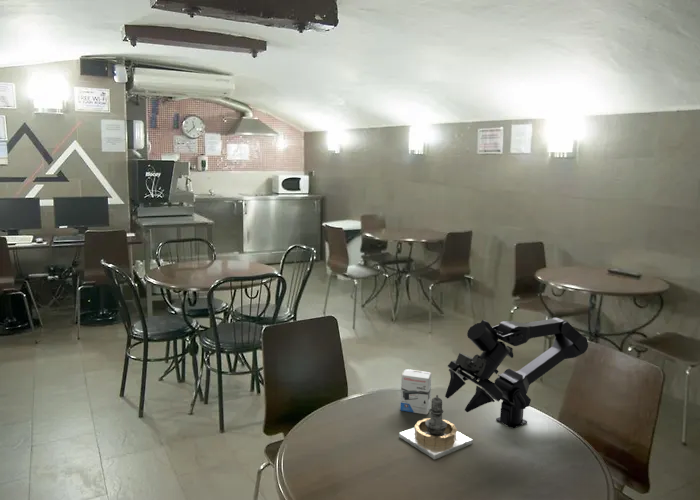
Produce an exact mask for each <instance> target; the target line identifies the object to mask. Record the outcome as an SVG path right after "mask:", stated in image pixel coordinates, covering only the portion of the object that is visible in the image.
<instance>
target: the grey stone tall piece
mask: <svg viewBox="0 0 700 500" xmlns="http://www.w3.org/2000/svg"><path fill="white" fill-rule="evenodd" d="M429 412H430V417H429V418H430V419H429V420H427V421H426V422H425V425H426V427H427V430H428V431H429V432H427V433H426V434H428V435H433V436H445V434H443V432H444V431H445V429H446V427H447V423H446V422H445V421H443V420H444V419H443V413H444V410H443V400H442V398H440V397H439V395H438V394H436V395H435V397H433V398H432V399H431V404H430V409H429ZM442 419H443V420H442Z"/></svg>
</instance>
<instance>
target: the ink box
mask: <svg viewBox="0 0 700 500" xmlns="http://www.w3.org/2000/svg"><path fill="white" fill-rule="evenodd" d="M400 380H401V383H400V385H401V386H400V407H399V408H400V411H401V412H407V413H408V412H409V413H414V414H420V415H428V413H429V412H430V409H431V395H432V394H431V393H432V392H431V390H432V389H431V388H432V372H429V371H422V370H418V369H417V370H415V369H410V368H409V369H408V368H406V369H404V370H403V371H402V373H401V379H400Z"/></svg>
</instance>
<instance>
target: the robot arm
mask: <svg viewBox="0 0 700 500" xmlns="http://www.w3.org/2000/svg"><path fill="white" fill-rule="evenodd" d="M466 335H467V336H466V337H467V338H468V339H469V340H470V341H471V343H473V344H474V345H475V347H477V348H478V349H479V351H481V354H475V355H474V356H473V357H472V356H470V355H467V354H463V353H461V352H459V353H458V355H457V358H456V360H451V361H450V362H449V363H448V365H447V368H449V369H448V371H449V374H450V380H449V384H448V386H447V389H446V391H445V394H444V397H445V398H446V399H450V398H451V397H452V396H453V395H454V394H455V393H457V392H458V391H459V390H460V389H461V388H462V387H464V385H466V382H465V381H470V382H472V383H474V384H475V386H476V387H475V393H474V395H473V396H472V397H471V399H470V400H469V402H468V403H467V404H466V406H465V408H464V411H465V412H466V413H468V412H471V411H473V410H476V409H477V408H480V407H482V406H484V405H486V404H489V403H494V402H495V401H497V402H500V401H502V402H501V405H500V406H501V408H500V412H499V413H500V415H499V417H496V419H495V421H497V422H499V423H500V424H503V425H505V426H506V427H509V428H510V429H516V428H518V427H522V426H524V425H525V424H528V420H525V419H524V410H525V409H527V407H530V404H531V400H532V399H531V398H530V397H529V396H528V395H527V394H528V391H529V388H530V385H531V384H533V383H534V382H536V381H537V380H538V379H540V378H542V377H543V375H545V374H547V373H548V372H549V371H550V370H552V369H553V368H555V367H556V366H557V365H559V364H560V363H561V362H563V361H565V360H568V359H574V358H575V359H576V358H577V357H579V356H581V355H583V354H585V353H586V351H587V350H588V349H589V343H588V338H587V337H586V336H584V335H583V334H581V333H580V331H578V330H577V329H575V328H574V327H573V326H572V325H571V324H570V322H568V321H567V320H565V319H562V318H559V317H552V318H548V319H541V320H536V321H529V322H519V321H512V320H503V321H500V323H499V324H496V325H494V326H491V324H490V323H489V322H488V321H487V320H485V319H482V320H481V322H478V323H475V324H473V325H472V326H470V327H469V328H468V330H467V334H466ZM547 336H554V341H553V345H552V346H551V347H550V348H548V349H547V350H545V351H544V352H542V353H541V354H540V355H538V356H537V357H535V358H534V359H533V360H531V361H530V362H529V363H526V365H525V366H522V368H520V369H518V370H517V371H516V370H513V369H512V368H507V369H506V370H504V371H503V372H502V373H500V374H498V373H499V372H500V371H499V370H498V369H497V368H498V367H499V366H501V364H502V363H503V361H504V360H505V359H506V357H509V358H511V359H513V358H514V353H513V350H514V349H513V348H512V347H511V346H513V347H519V346H522V345H524V344H526V343H528V341H529V340H531V339H535V338H540V337H541V338H542V337H547ZM504 342H505V343H507V344H508V345H507V344H505V343H504ZM509 345H511V346H509ZM493 374H496V375H497V376H498V377H497V378H496V379H495V380H494V382H493V381H492V380H490V379H491V377H492V376H493Z"/></svg>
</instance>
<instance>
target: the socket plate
mask: <svg viewBox="0 0 700 500" xmlns="http://www.w3.org/2000/svg"><path fill="white" fill-rule="evenodd" d="M430 418H431V417H427V418H422V419H419V420H417V422H416V423H415V425H414V427H411V428H409V429H406V430H404V431H400V432H399V433H398V437H399V438H400V439H401V440H403V441H405V442H406V443H408V444H409V445H411V446H412V447H415V448H416V449H417V450H419V451H420V452H422V453H424V454H425V455H427V457H430V458H431V459H433V460H437V459H439V458H441V457H444V456H446V455H449V454H451V453H454V452H456V451H458V450H461V449H463V448H465V447H468V446H470V445H472V444H473V439H472V438H471V437H469V436H466V435H465V434H463V433H461V432H460V431H458V428H457V427H456V426H455V423H453V422H450V421H449V420H447V419H443V418H442V420H443V421H445V422H446V423H447V427H446V429H445V431H444V432H443V434H445V436H433V435H428V434H426V433H427V432H429V431H428V430H427V427H426V425H425V422H426V421H427V420H429V419H430Z"/></svg>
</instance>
